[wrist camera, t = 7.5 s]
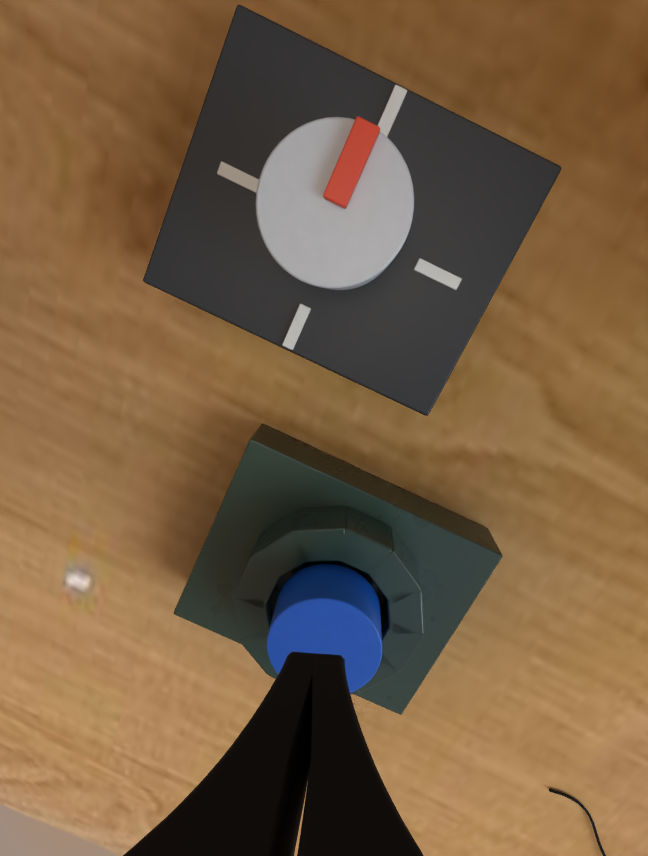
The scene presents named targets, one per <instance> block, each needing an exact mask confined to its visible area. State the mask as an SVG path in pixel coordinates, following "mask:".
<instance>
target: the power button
mask: <svg viewBox="0 0 648 856" xmlns="http://www.w3.org/2000/svg"><path fill="white" fill-rule="evenodd" d="M267 652H268V656H269V659H270V662H271V664H272V666H273V668H274V670H275V671H276V672H277V674H279V673H280V671H281V669H282V667H283V665H284V663H285V660H286V658H287V656H288V655H289V654H290V653H291V652H304V653H319V654H333V655H341V656H342V657H343V658H344V659H345V671H346V678H347V683H348V687H349V691H350V693H351V692H354V691H356V690H358V689H359V688H361V687H363V686H364V685H365V684H366V683H368V682H369V680H370V679H371V678H372V677H373V676H374V674H375V673H376V671H377V669H378V667H379V665H380V662H381V658H382V632H381V615H380V604H379V600H378V597H377V595H376V592H375V590H374V589H373V587H372V586H371V585H370V583H369V582H368V581H367V580H366V579H365V578H364V577H363V576H361V575H360V574H358V573H357V572H355V571H353V570H351V569H349V568H347V567H344V566H340V565H335V564H317V565H312V566H309V567H306V568H303V569H302V570H300V571H298V572H296V573H295V574H293V575H292V576H291V577H290V578H289V579H288V580H287V581H286V582H285V584H284V585H283V587H282V589H281V591H280V593H279V596H278V600H277V603H276V607H275V610H274V614H273V617H272V621H271V625H270V628H269V632H268V636H267Z"/></svg>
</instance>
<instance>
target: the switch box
mask: <svg viewBox="0 0 648 856" xmlns="http://www.w3.org/2000/svg"><path fill="white" fill-rule="evenodd" d="M501 558H502V554H501V552H500V550H499V548H498V546H497V544H496V543H495V541H494V539H493V537H492V535H491V533H490V532H489V530H488V529H487V528H485V527H483V526H481V525H479V524H477V523H474V522H472V521H470V520H468V519H466V518H464V517H462V516H459V515H457V514H455V513H453V512H451V511H449V510H447V509H444V508H442V507H440V506H438V505H436V504H434V503H432V502H429V501H427V500H425V499H423V498H421V497H419V496H416V495H414V494H412V493H410V492H408V491H406V490H404V489H401V488H399V487H397V486H395V485H393V484H391V483H389V482H386V481H384V480H382V479H380V478H378V477H376V476H374V475H371V474H369V473H367V472H365V471H363V470H361V469H359V468H356V467H354V466H352V465H350V464H348V463H346V462H344V461H341V460H339V459H337V458H335V457H333V456H331V455H328V454H326V453H324V452H322V451H320V450H318V449H316V448H313V447H311V446H309V445H307V444H305V443H303V442H301V441H298V440H296V439H294V438H292V437H290V436H288V435H286V434H283V433H281V432H279V431H277V430H275V429H273V428H271V427H268V426H266V425H264V424H262V425H261V426H260V427H259V429H258V430H257V431H256V432H255V434H254V435H253V436H252V437H251V439H250V440H249V443H248V445H247V447H246V449H245V452H244V454H243V456H242V459H241V461H240V463H239V465H238V468H237V470H236V472H235V474H234V477H233V479H232V481H231V484H230V486H229V488H228V490H227V493H226V495H225V497H224V499H223V502H222V504H221V506H220V509H219V511H218V513H217V515H216V518H215V520H214V522H213V524H212V527H211V529H210V531H209V533H208V536H207V538H206V540H205V543H204V545H203V547H202V549H201V552H200V554H199V556H198V558H197V561H196V563H195V565H194V568H193V570H192V572H191V574H190V577H189V579H188V581H187V583H186V586H185V588H184V590H183V592H182V595H181V597H180V599H179V602H178V604H177V606H176V608H175V611H174V614H175V615H177V616H179V617H182V618H184V619H186V620H188V621H191V622H193V623H195V624H197V625H200V626H202V627H204V628H206V629H209V630H211V631H213V632H215V633H218V634H220V635H222V636H224V637H227V638H229V639H231V640H233V641H236V642H238V643H240V644H242V645H243V646H244V647H245V648H246V649H247V651H248V652H249V653H250V654H251V656H252V657H253V658H254V659H255V660H256V662H257V663H258V664H259V665H260V666H261V668H262V669H263V670H264V671H265V672H266V674H269V676H271V677H273V678H275V679H276V678H277V676H278V674H277V672H276V671H275V670H274V668H273V666H272V664H271V662H270V659H269V656H268V652H267V636H268V632H269V628H270V625H271V621H272V617H273V614H274V610H275V607H276V603H277V600H278V596H279V593H280V591H281V589H282V587H283V585H284V584H285V582H286V581H287V580H288V579H289V578H290V577H291V576H292V575H293V574H295V573H296V572H298V571H300V570H302V569H303V568H306V567H309V566H312V565H317V564H335V565H340V566H344V567H347V568H349V569H351V570H353V571H355V572H357V573H358V574H360V575H361V576H363V577H364V578H365V579H366V580H367V581H368V582H369V583H370V585H371V586H372V587H373V589H374V590H375V592H376V595H377V597H378V600H379V604H380V615H381V632H382V658H381V662H380V665H379V667H378V669H377V671H376V673H375V674H374V676H373V677H372V678H371V679H370V680H369V682H368V683H366V684H365V685H364V686H363V687H361V688H359V689H358V690H356V691H354V692H351V693H350V694H355V695H357V696H359V697H362V698H364V699H366V700H368V701H371V702H373V703H375V704H377V705H380V706H382V707H384V708H386V709H389V710H391V711H393V712H395V713H398V714H400V715H401V714H402V713H403V711H404V710H405V708H406V706H407V705H408V703H409V702H410V700H411V699H412V697H413V696H414V694H415V692H416V691H417V689H418V688H419V686H420V685H421V683H422V681H423V680H424V678H425V677H426V675H427V674H428V672H429V670H430V669H431V667H432V666H433V664H434V663H435V661H436V660H437V658H438V656H439V655H440V653H441V652H442V650H443V649H444V647H445V645H446V644H447V642H448V641H449V639H450V638H451V636H452V635H453V633H454V631H455V630H456V628H457V627H458V625H459V624H460V622H461V620H462V619H463V617H464V616H465V614H466V613H467V611H468V610H469V608H470V606H471V605H472V603H473V602H474V600H475V599H476V597H477V595H478V594H479V592H480V591H481V589H482V588H483V586H484V585H485V583H486V581H487V580H488V578H489V577H490V575H491V574H492V572H493V570H494V569H495V567H496V566H497V564H498V563H499V561H500V560H501Z"/></svg>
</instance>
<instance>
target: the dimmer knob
mask: <svg viewBox="0 0 648 856" xmlns="http://www.w3.org/2000/svg"><path fill="white" fill-rule="evenodd" d="M413 212H414V191H413V184H412V180H411V175H410V173H409V170H408V167H407V165H406V163H405V161H404V159H403V157H402V155H401V153H400V152H399V151H398V149H397V148H396V146H395V145H394V144H393V143H392V142H391V141H390V140H389V139H388V138H387V137H386V136H385V135H384V134H383V133H381V132H380V127H379V126H377V125H375V124H373V123H371V122H369V121H367V120H365V119H363V118H361V117H359V116H357V117H356V119H351V118H344V117H327V118H322V119H317V120H314V121H311V122H308V123H306V124H304V125H302V126H300V127H298V128H296V129H295V130H294V131H292V132H291V133H289V134H288V135H287V136H286V137H285V138H284V139H283V140H281V141H280V142H279V144H278V145H277V146H276V147H275V149H274V150H273V151H272V153H271V154H270V156H269V157H268V159H267V161H266V163H265V165H264V167H263V169H262V172H261V175H260V178H259V181H258V186H257V192H256V216H257V222H258V227H259V230H260V233H261V236H262V239H263V241H264V243H265V246H266V247H267V249H268V251H269V252H270V254H271V255H272V257H273V258H274V259H275V261H276V262H277V263H278V264H279V265H280V266H281V267H282V268H283V269H284V270H285V271H287V272H288V273H289V274H290V275H292V276H293V277H295V278H297V279H298V280H300V281H302V282H305V283H307V284H310V285H313V286H317V287H321V288H326V289H331V290H348V289H354V288H357V287H360V286H363V285H365V284H367V283H369V282H370V281H372V280H374V279H375V278H376V277H377V276H379V275H380V274H381V273H382V272H383V271H384V270H385V269H386V268H387V267H388V265H389V264H390V263H391V262H392V261H393V259H394V258H395V257H396V255H397V254H398V253H399V251H400V250H401V248H402V246H403V244H404V242H405V240H406V238H407V235H408V233H409V230H410V227H411V223H412V218H413Z"/></svg>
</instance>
